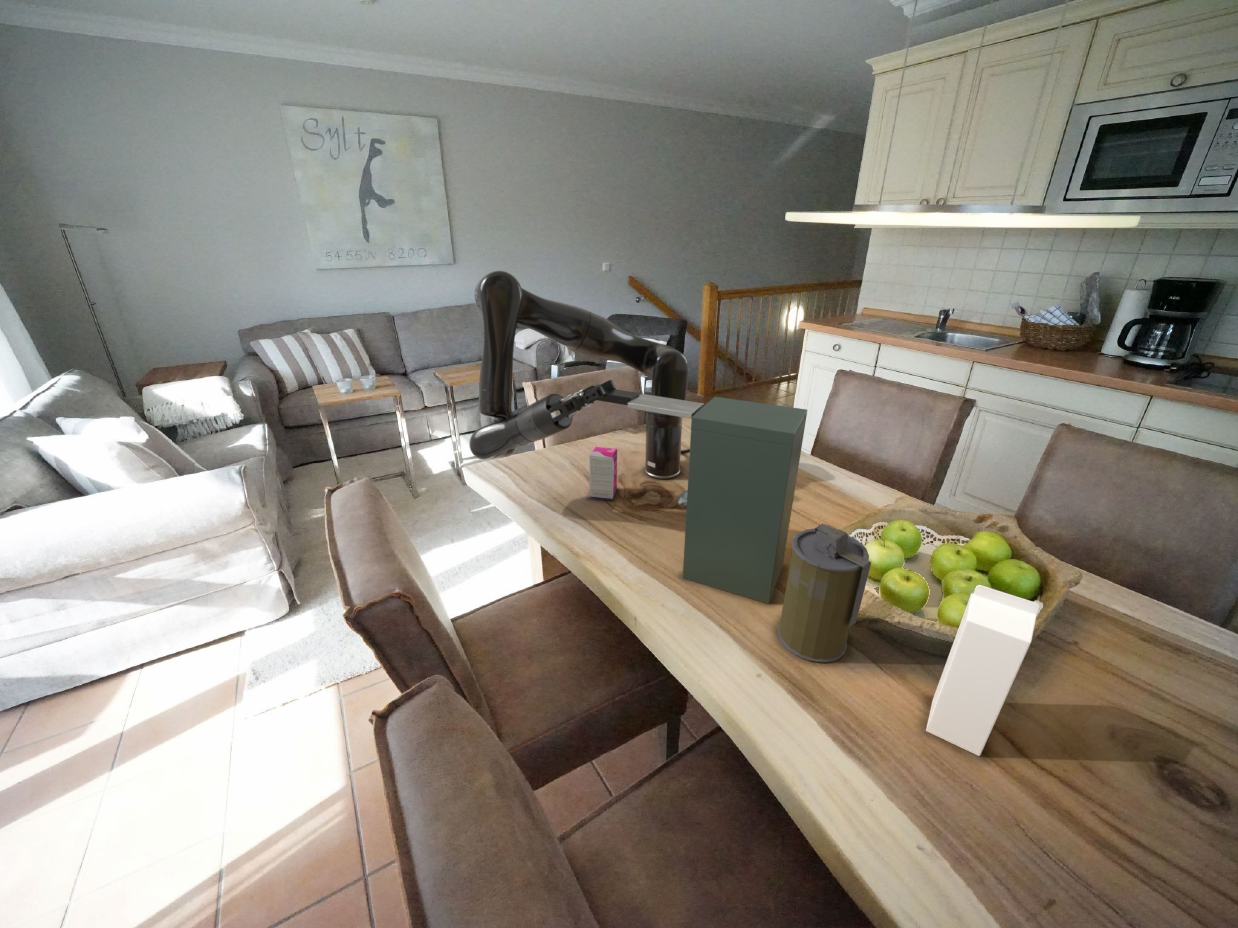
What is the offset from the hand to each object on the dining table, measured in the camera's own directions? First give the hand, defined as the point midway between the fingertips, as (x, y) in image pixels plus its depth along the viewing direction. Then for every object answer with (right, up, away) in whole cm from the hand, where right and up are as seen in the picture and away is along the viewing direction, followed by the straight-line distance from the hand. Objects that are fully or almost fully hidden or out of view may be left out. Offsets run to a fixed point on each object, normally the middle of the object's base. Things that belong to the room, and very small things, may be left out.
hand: (607, 387), depth 93 cm
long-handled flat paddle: (+6, -3, -2) cm, 7 cm away
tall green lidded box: (+24, -35, +3) cm, 42 cm away
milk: (+46, -49, -27) cm, 72 cm away
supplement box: (-2, -22, +31) cm, 38 cm away
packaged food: (+23, -25, +25) cm, 42 cm away
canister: (+33, -42, -12) cm, 55 cm away
